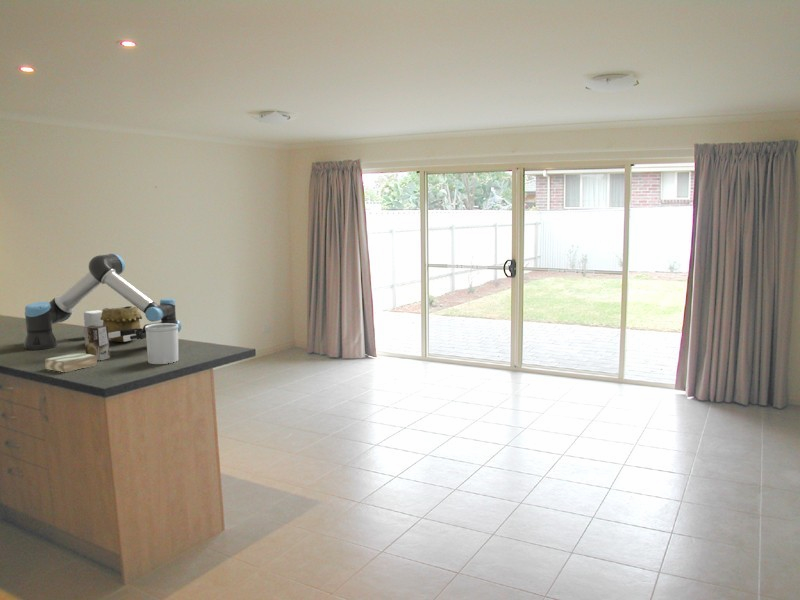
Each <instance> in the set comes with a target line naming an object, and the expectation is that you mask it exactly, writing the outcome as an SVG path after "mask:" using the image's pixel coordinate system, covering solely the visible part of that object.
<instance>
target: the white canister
mask: <svg viewBox="0 0 800 600" xmlns="http://www.w3.org/2000/svg"><path fill="white" fill-rule="evenodd" d="M101 316H102V310H99V309H96V310H89V311H83V321H84V327H88V326H92V325H100V326H103V320H101V319H100V318H101Z"/></svg>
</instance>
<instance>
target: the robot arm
mask: <svg viewBox="0 0 800 600" xmlns="http://www.w3.org/2000/svg"><path fill="white" fill-rule="evenodd" d="M125 267H126V264H125V260H124V259H123V258H122V257H121V256H120V255H119V254H117V253H109V254H101V255H100V254H99V255H96V256H94V257H92V258H91V259H90V261H89V262H88V271H89V272H88V273H86V274H85V275H84V276H82V277H81V278H80V279H79V280H78V281H77V282H76V283H75V284H73V285H72V286H71V287H70V288H69V289H68V290H66V291H65V292H64V293H63V294H62V295H56V296H55V297H54V298H52V300H50V301H49V302H48V301H37V302H31V303H29V304H27V305H25V308H24V315H25V327H26V336H25V339H24V340H25V341H24V342H23V347H24V348H25V349H24V348H23V349H24V350H27V349H28V350H29V351H38V350H48V349H53V348H56V347H57V346H58V341H57V339H56V337H55V335H54V332H53V325H55V324H59V323H63V322H65V321H66V320H68V319H69V318H70V317H71V316H72V313H73V312H74V311H75V306H77V305H78V304H79V303H81V302H82V301H83V300H84V299H85V298H87V296H89V295H90V294H91V293H92V292H94V291H95V289H97V288H98V287H99V286H100V285H101V284H102V285H104V284H105V285H107V286H108V287H110V289H112V290H113V291H114V292H116V293H117V294H119V295H120V296H121V297H123V298H124V299H125V300H126V301H127V302H128V303H130V304H132V305H133V307H137V308H138V310H139V311H140V312H143V313H144V314H145V315H144V316H145V318H146V320H147V321H149V322H153V323H148V324H144V325H143V327H140V328H139V329H138V328H136V329H127V330H118V331H117V332H111V333H108V338H114V337H120V336H123V341H124V342H123V343H126V342H130V341H133V340H144V339H146V330H145V326H147V325H151V324H161V323H172V324H178V333H180V331H181V330H182V324H181V321H180V320H179V319H177V317H176V316H177V315H176V301H175V299H174V298H161V299H160V301H159V304H158V303H157V302H155V301H154V300H152V298H150V297H149V296H147V295H146V294H144V293H143V292H142V291H140V290H139V289H138V288H137V287H135V286H134V285H132V284H131V283H130V282H128V281H127V280H126V279H125V278H124V277H122V276H121V275H120V274H122V273H124V271H125ZM158 321H159V322H158ZM125 341H126V342H125ZM28 350H27V351H28Z"/></svg>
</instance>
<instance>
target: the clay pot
mask: <svg viewBox="0 0 800 600" xmlns="http://www.w3.org/2000/svg"><path fill="white" fill-rule="evenodd" d="M101 311H102V316H101V318H100V319H101V320H103V326H108V333H111V332H117V331H118V330H127V329H136V328H138V329H139V328H141V322H140V321H141V320H142V319H143V315H142V314H141V311H140V309H138V308H137V307H136V306H134V305H133V306H131V305H128V306H122V307H113V308H112V307H111V308H108V307H107V308H105V307H104V308H102V310H101ZM109 340H111V341H113V342H117V343H126V342H127V341H125V342H124V341H123V336H120V337H114V338H109Z"/></svg>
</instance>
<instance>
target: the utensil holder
mask: <svg viewBox="0 0 800 600" xmlns="http://www.w3.org/2000/svg"><path fill="white" fill-rule="evenodd" d="M150 324H151V325H147V326H145V330H146V338H145V339H146V351H147V362H148V364H150V365H168V363H169V364H173V362H174V363H177V362H178V361H179V332H178V324H172V323H161V324H152V323H150ZM176 361H177V362H176Z"/></svg>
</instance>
